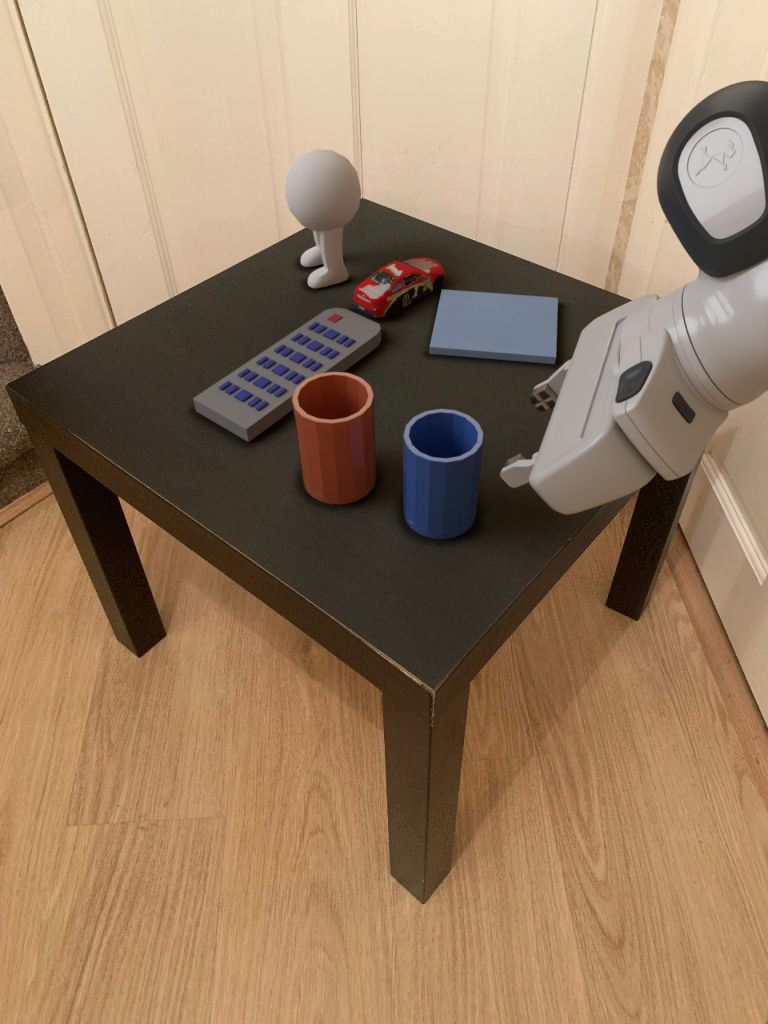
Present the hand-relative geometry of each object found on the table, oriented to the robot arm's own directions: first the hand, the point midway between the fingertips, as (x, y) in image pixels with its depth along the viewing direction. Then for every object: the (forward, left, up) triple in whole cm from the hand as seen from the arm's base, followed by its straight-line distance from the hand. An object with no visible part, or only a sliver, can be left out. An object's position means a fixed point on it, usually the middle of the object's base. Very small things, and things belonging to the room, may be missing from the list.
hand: (522, 436), depth 64 cm
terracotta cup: (+16, -4, -11) cm, 20 cm away
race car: (+15, -36, -11) cm, 41 cm away
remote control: (+24, -19, -11) cm, 33 cm away
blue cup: (+6, -1, -11) cm, 13 cm away
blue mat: (+3, -31, -11) cm, 33 cm away
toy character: (+25, -41, -11) cm, 49 cm away
